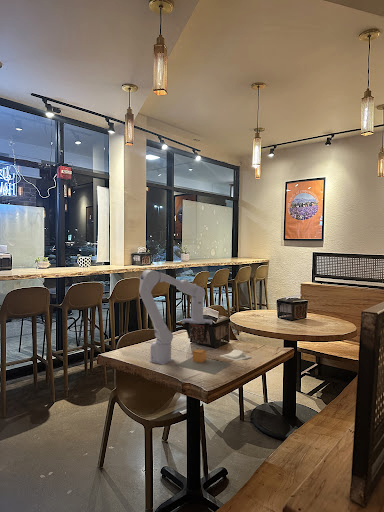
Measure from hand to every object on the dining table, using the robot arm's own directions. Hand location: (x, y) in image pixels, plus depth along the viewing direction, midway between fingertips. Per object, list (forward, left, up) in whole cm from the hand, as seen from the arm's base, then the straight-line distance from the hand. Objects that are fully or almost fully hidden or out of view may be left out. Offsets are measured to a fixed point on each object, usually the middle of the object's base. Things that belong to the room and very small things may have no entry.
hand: (197, 338), depth 169 cm
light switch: (+16, +10, -10) cm, 21 cm away
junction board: (+10, -10, -9) cm, 17 cm away
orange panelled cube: (+5, -6, -8) cm, 11 cm away
